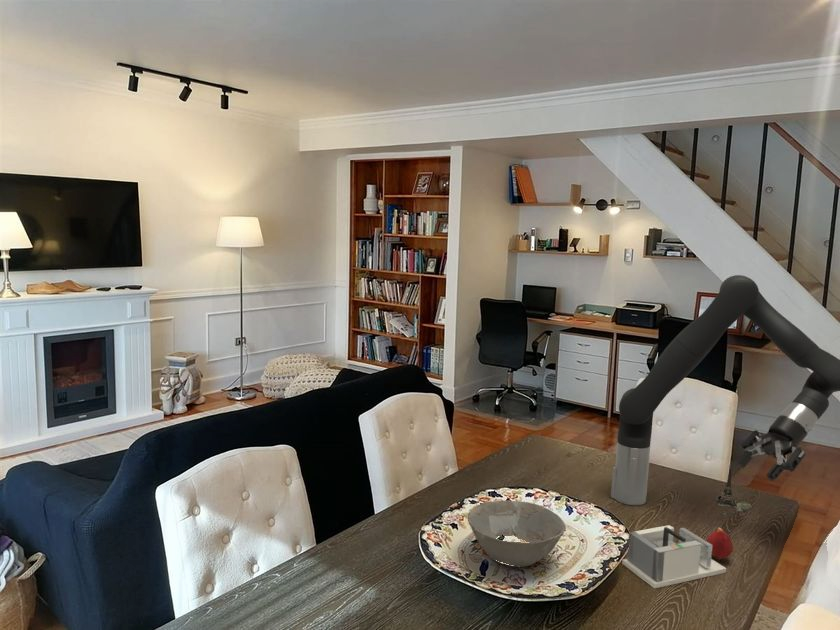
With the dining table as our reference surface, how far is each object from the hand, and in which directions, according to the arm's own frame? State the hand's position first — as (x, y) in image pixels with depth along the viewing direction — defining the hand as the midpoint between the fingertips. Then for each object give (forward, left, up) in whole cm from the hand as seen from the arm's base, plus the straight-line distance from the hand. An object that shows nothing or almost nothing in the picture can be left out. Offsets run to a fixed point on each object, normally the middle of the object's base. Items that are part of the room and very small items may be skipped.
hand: (754, 471), depth 156 cm
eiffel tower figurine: (-10, +24, -21) cm, 33 cm away
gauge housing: (-11, -24, -20) cm, 33 cm away
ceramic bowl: (-41, -46, -20) cm, 65 cm away
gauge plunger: (-10, -24, -18) cm, 31 cm away
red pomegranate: (-4, -13, -20) cm, 24 cm away
